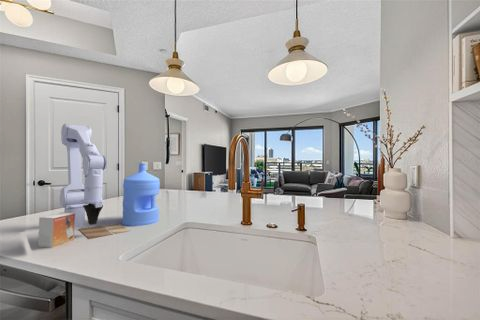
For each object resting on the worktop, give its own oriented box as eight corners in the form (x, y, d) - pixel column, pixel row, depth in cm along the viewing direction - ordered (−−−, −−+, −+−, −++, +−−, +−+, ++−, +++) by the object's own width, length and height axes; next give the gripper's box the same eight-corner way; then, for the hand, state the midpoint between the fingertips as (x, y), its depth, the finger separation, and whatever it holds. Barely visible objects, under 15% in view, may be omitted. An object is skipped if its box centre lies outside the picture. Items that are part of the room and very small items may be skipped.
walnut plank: (78, 231, 92) (78, 228, 92) (100, 228, 98) (100, 225, 98) (88, 241, 81) (89, 238, 81) (113, 237, 87) (113, 234, 87)
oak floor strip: (101, 228, 98) (101, 225, 98) (117, 225, 103) (117, 223, 103) (114, 237, 87) (114, 234, 87) (131, 233, 92) (131, 230, 92)
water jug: (113, 226, 101) (115, 163, 101) (139, 218, 116) (140, 163, 116) (143, 230, 97) (144, 163, 97) (165, 221, 112) (167, 163, 112)
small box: (51, 251, 72) (52, 218, 73) (37, 250, 74) (38, 217, 74) (74, 243, 80) (75, 212, 80) (61, 241, 81) (62, 211, 82)
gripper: (76, 186, 88) (75, 221, 88) (86, 190, 78) (84, 230, 78) (97, 185, 93) (96, 218, 93) (109, 188, 83) (108, 226, 83)
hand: (92, 224), depth 85 cm, fingers closed
